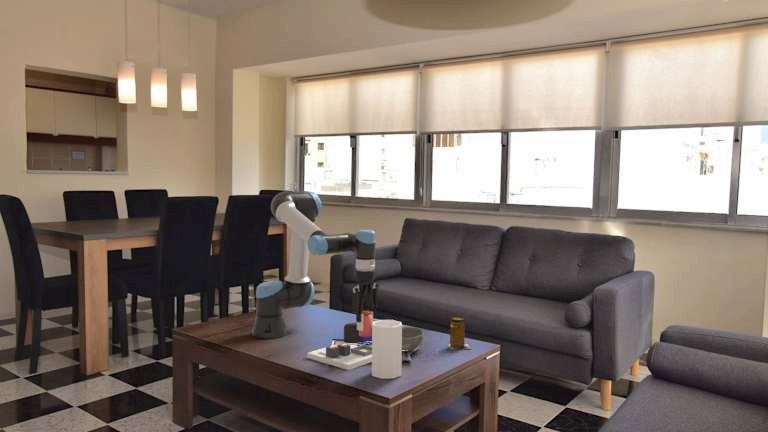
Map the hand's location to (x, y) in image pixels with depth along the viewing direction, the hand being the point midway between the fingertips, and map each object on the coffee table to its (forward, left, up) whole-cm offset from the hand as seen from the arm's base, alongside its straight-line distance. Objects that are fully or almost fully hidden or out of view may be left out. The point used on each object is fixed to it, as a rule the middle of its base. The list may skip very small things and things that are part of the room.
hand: (364, 328), depth 222 cm
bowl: (+5, +18, -12) cm, 22 cm away
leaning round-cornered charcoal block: (-14, +13, -12) cm, 23 cm away
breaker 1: (-5, -13, -9) cm, 16 cm away
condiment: (+20, +38, -12) cm, 44 cm away
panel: (-5, -5, -11) cm, 14 cm away
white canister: (+19, -9, -12) cm, 24 cm away
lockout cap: (0, 0, -3) cm, 3 cm away
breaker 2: (-4, -7, -9) cm, 13 cm away
